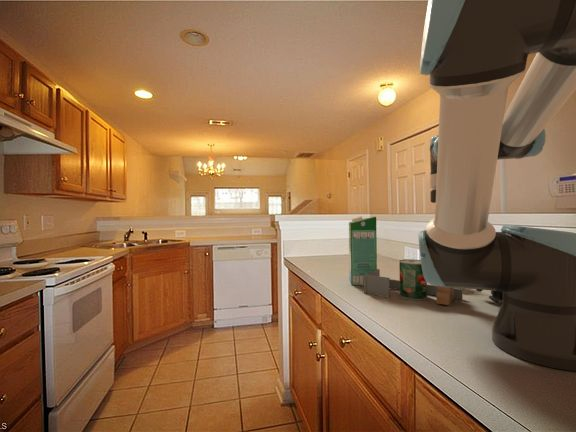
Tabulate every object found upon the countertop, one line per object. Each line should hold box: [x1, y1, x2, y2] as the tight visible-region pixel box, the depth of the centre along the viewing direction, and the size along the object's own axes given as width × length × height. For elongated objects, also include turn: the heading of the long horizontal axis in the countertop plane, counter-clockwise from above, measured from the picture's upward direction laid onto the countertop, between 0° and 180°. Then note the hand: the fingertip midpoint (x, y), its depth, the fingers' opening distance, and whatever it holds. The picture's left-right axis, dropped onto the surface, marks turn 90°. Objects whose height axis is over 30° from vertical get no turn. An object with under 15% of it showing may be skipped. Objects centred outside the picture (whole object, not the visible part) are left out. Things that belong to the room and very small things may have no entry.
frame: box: [363, 268, 464, 301], centre depth 87 cm, size 12×26×6 cm, turn 51°
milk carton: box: [348, 215, 378, 286], centre depth 105 cm, size 9×9×25 cm
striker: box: [436, 286, 454, 306], centre depth 81 cm, size 9×3×18 cm, turn 141°
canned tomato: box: [398, 258, 428, 301], centre depth 87 cm, size 8×8×11 cm
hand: (445, 269), depth 81 cm, fingers closed on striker, 2 cm apart
